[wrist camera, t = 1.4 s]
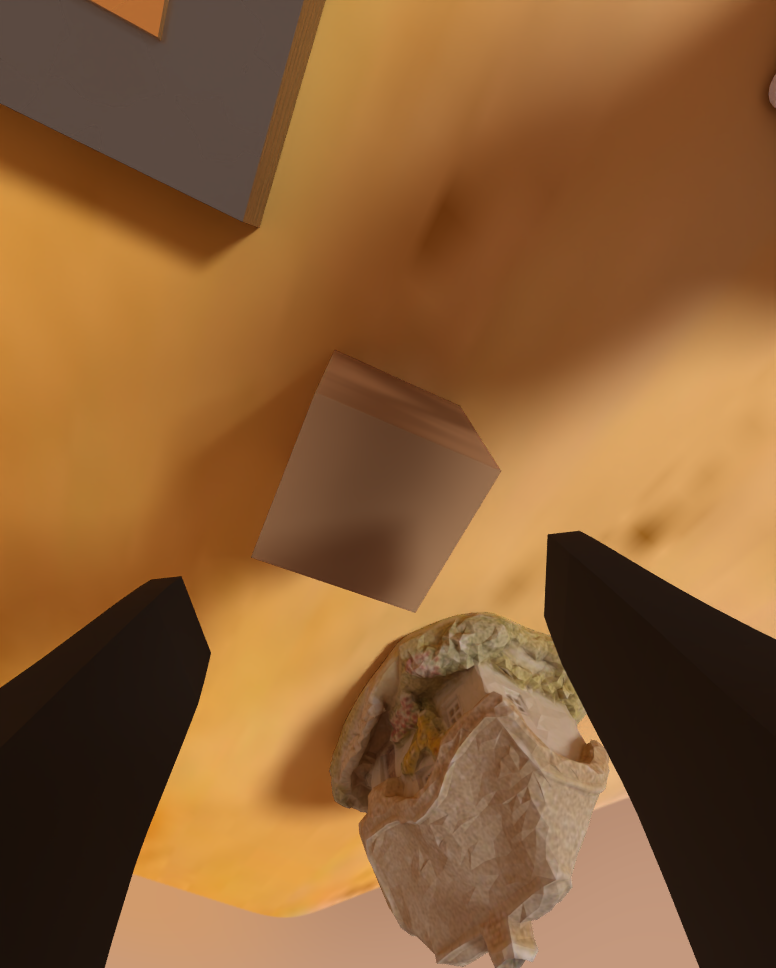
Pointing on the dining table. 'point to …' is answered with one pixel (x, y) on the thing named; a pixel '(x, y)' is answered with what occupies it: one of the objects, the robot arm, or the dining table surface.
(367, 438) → the taupe wooden cube
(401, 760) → the ceramic model
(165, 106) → the grey square picture frame
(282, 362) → the dining table surface
